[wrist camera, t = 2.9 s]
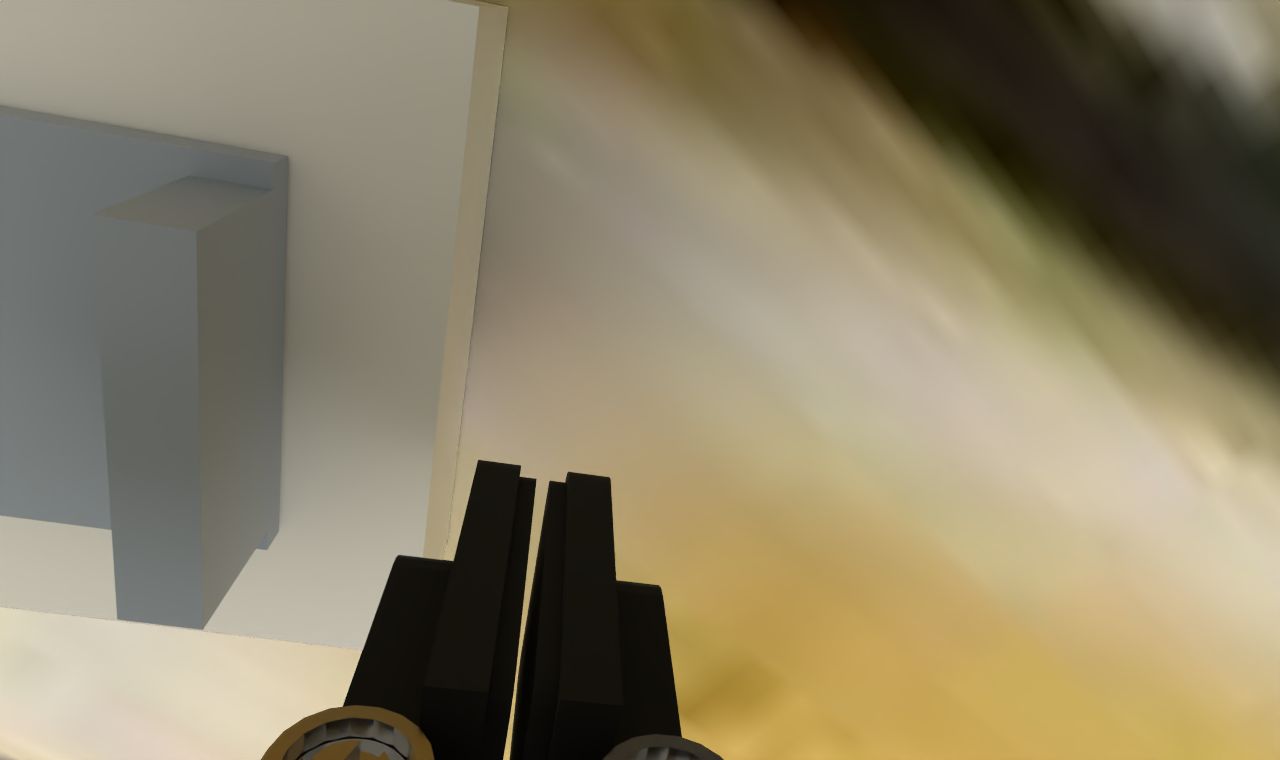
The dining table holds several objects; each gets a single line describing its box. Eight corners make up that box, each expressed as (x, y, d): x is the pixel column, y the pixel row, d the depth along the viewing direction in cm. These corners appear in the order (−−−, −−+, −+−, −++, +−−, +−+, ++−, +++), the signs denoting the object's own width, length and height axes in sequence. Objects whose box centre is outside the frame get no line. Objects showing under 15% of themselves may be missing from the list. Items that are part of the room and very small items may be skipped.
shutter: (288, 156, 13) (195, 198, 10) (279, 531, 16) (203, 651, 13) (-197, 70, 12) (-445, 90, 9) (-122, 478, 15) (-299, 591, 12)
